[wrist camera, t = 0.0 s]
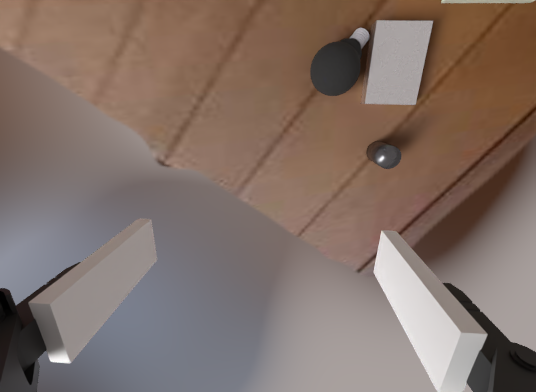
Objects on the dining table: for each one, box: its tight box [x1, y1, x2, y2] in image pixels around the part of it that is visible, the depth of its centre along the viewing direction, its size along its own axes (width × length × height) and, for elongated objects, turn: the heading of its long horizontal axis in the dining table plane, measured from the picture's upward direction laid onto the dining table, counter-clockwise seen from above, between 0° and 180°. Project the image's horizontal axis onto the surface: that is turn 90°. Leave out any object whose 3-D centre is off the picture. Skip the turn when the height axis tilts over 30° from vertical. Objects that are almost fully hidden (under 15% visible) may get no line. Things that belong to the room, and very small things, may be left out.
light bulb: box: [310, 28, 370, 96], centre depth 33 cm, size 6×6×10 cm
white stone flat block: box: [361, 20, 433, 105], centre depth 35 cm, size 10×7×2 cm
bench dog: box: [366, 141, 401, 169], centre depth 37 cm, size 3×3×5 cm
